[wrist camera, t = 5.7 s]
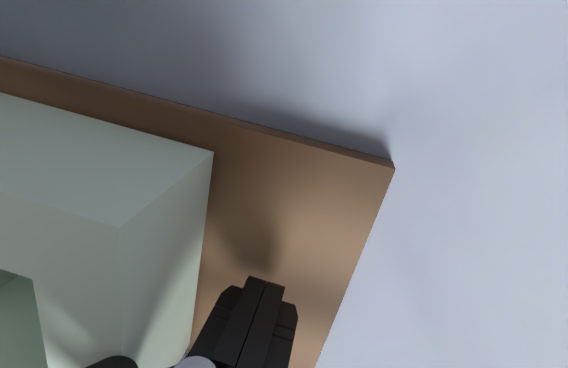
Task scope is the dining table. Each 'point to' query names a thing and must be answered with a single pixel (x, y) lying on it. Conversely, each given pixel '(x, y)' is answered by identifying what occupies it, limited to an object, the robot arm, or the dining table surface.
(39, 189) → the block
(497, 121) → the dining table surface
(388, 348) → the dining table surface
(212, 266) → the jig
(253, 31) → the dining table surface
